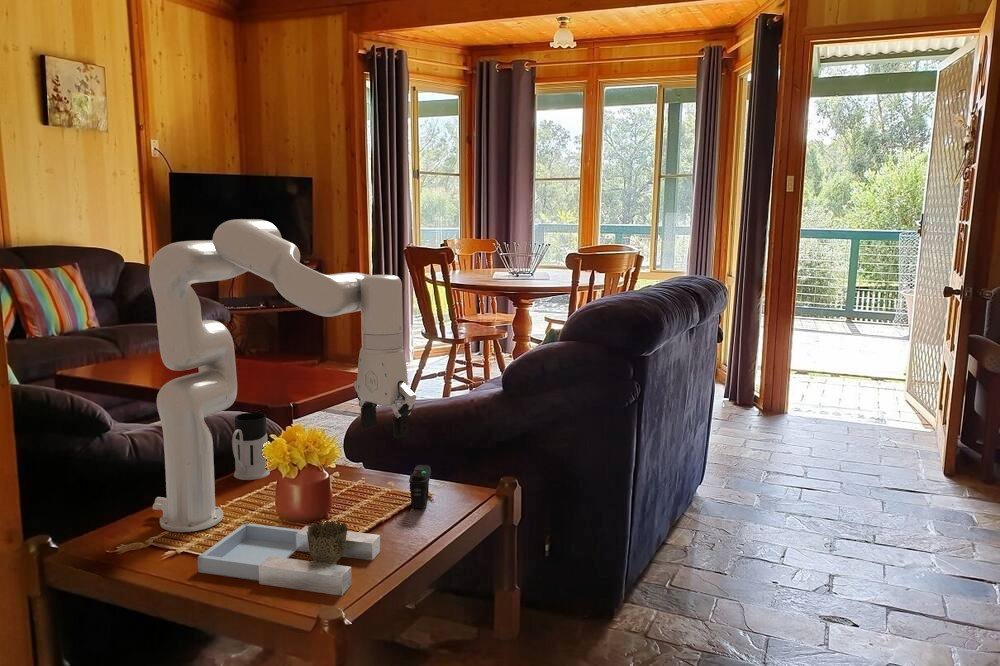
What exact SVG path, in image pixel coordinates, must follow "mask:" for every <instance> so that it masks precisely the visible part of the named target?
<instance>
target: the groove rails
mask: <svg viewBox="0 0 1000 666" xmlns="http://www.w3.org/2000/svg"><path fill="white" fill-rule="evenodd" d="M308 527H311V525H310V526H309V525H305V526H304V527H302V528H301V529H299V530H300V531H299V532H298V533H297V534H296V551H297V552H306V553H310V550H309V544H308V537H307V531H308ZM296 551H295V552H296ZM379 553H381V534H374V533H368V532H367V533H365V532H357V531H350V530H347V535H346V544H345V550H344V553H343V555H342V557H341V558H350V559H359V560H365V561H373V560H375V558H376V557H377V556H378V555H379ZM258 584H259V585H262V586H263V585H265V586H270V587H277V588H284V589H285V588H286V589H292V590H299V591H305V592H307V591H308V592H312V593H313V592H314V593H320V594H327V595H335V596H339V597H340V596H341V597H342V596H344V594H345V593H346V592H347V590H348V589H349V588H350V587H351V586H352V566H348V565H341V564H337V565H334V564H326V563H319V562H316V561H309V560H305V559H304V560H302V559H297V558H296V559H294V558H290V557H289V558H281V557H274V556H270V557H268V558H267V559H266V560H265V561H264V562H263V563H261V564H260V565H259V581H258Z"/></svg>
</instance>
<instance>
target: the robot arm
mask: <svg viewBox="0 0 1000 666" xmlns="http://www.w3.org/2000/svg"><path fill="white" fill-rule="evenodd" d="M300 261H301V252H300V250H299V248H298V247H297V245H296V244H294V243H293V242H290V241H289V240H286V239H284V238H282V235H281V232H280V230H279V229H278V228H277V226H275V225H274V224H273V223H272V222H270V221H267V220H264V219H259V218H258V219H257V218H256V219H255V218H253V219H252V218H251V219H250V218H249V219H246V218H244V219H243V218H240V219H239V218H238V219H230V220H227V221H224V222H222V223H221V224H219V225H218V226H217V228H215V230H214V233H213V236H212V239H211V240H209V239H208V240H205V239H204V240H198V239H197V240H184V241H176V242H172V243H169V244H167V245H164V246H163V247H161V248H160V249H159V250H157V252H156V253H155V254H154V255H153V257H152V259H151V261H150V262H151V263H150V265H149V271H148V274H149V282H150V283H149V284H150V288H151V291H152V295H153V298H154V303H155V312H156V313H155V314H156V326H157V334H158V335H157V336H158V346H159V353H160V358H161V361H162V363H163V365H164V366H165V367H166V368H167V369H169V370H171V371H179V372H180V371H181V372H182V371H187V370H192V369H196V368H198V372H195V373H191V374H190V373H189V374H186V375H183V376H180V377H176V378H174V379H171V380H169V381H167V382H165V384H163V386H161V388H160V389H159V391H158V393H157V395H156V396H157V397H156V407H157V412H158V415H159V420H160V423H161V429H162V435H163V450H164V469H165V483H166V484H165V488H166V489H165V491H166V497H161V496H157V497H155V499H154V503H153V505H152V510H155V511H156V510H157V511H162V515H161V517H160V518H159V525H160V527H161V528H162V529H164V530H165V531H168V532H174V533H190V532H191V533H192V532H197V531H202V530H206V529H210V528H211V527H215V526H216V525H218V524H219V523H220V522H221V521H222V520H223V519H224V510H223V509H222V508H220V507H219V506H216V496H215V495H216V493H215V492H216V491H215V489H216V488H215V464H214V461H215V460H214V441H213V435H212V433H211V431H210V428H209V427H208V425H207V424H206V422H205V418H206V417H207V418H208V417H209V416H211V415H214V414H217V413H220V412H223V411H225V410H227V409H229V408H230V407H231V406H233V404H234V403H235V401H236V398H237V395H238V380H237V379H238V378H237V377H238V375H237V366H236V365H237V364H236V354H235V353H236V352H235V351H236V350H235V343H234V340H233V336H232V335H231V332H230V330H229V329H228V328H227V327H226V326H225V324H223V323H222V322H220V321H218V320H213V319H206V320H203V319H202V307H201V302H200V299H199V297H198V295H197V293H196V291H195V290H194V288H193V287H192V286H191V285H192V284H197V283H198V284H200V283H209V282H217V281H226V280H229V279H233V278H237V277H239V276H240V275H243V274H245V273H247V272H250V273H252V274H254V275H256V276H259V277H260V278H262V279H265V281H268V282H270V283H272V284H273V286H274V288H275V289H276V290H277V291H278V293H279V294H280V295H281V296H282V298H284V299H285V300H286V301H288V302H289V303H291V304H293V305H294V306H297V307H299V308H301V309H303V310H305V311H307V312H309V313H312V314H314V315H317V316H321V317H329V318H330V317H336V316H340V315H344V314H350V313H355V312H360V314H361V318H360V319H361V321H360V322H361V345H362V346H361V347H360V351H359V356H358V362H357V379H356V380H355V381H354V382H353V386H354V387H353V388H354V389H355V392H356V393H355V396H356V398H357V400H358V406H359V407H360V424H361V425H360V426H361V428H362V429H366V428H367V429H368V428H370V427H371V428H372V427H375V426H377V405H378V406H382V407H389V406H390V408H391V410H392V411H393V414H394V415H395V416H393V417H392V431H393V434H392V435H393V438H394V439H399V438H403V437H407V436H408V435H409V434H410V433H409V430H410V428H409V424H410V421H409V419H410V417H409V416H410V415H411V414H412V413H411V412H412V410H413V409H414V407H415V403H416V399H417V395H416V393H414V392H413V390H412V389H411V388H409V382H408V381H409V379H408V369H407V361H406V354H405V350H404V326H403V325H404V321H403V319H404V317H403V315H404V313H403V312H404V311H403V282H402V280H401V279H400V277H399V276H397V275H392V274H366V273H362V272H351V271H350V272H349V271H348V272H339V273H332V274H331V273H330V274H324V273H321V272H319V271H317V270H314V269H313V268H311V267H308V266H306V265H305V264H302V263H301V262H300ZM399 405H400V408H399Z"/></svg>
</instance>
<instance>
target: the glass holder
mask: <svg viewBox="0 0 1000 666" xmlns="http://www.w3.org/2000/svg"><path fill="white" fill-rule="evenodd" d="M231 439H232V440H231V443H232V445H231V446H232V452H233V457H234V459H235V461H234V466H235V471H234V473H233V477H234V478H235V479H238V480H241V481H243V480H244V481H245V480H247V481H251V480H252V481H253V480H259V479H264V478H266V477H267V476H269V475H270V474H271V471H270V469H269V470H266V469H265V466H266V462H267V461H266V459H265V458H263V456H262V454H261V453H262V448H263V444H264V443H266V442H267V443H268V432H267V415H266V414H265V413H261V412H246V413H245V412H243V413H239V414H237V415H235V416H234V432H233V434H232V438H231Z"/></svg>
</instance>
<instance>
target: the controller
mask: <svg viewBox="0 0 1000 666" xmlns="http://www.w3.org/2000/svg"><path fill="white" fill-rule="evenodd" d="M431 474H432V469H431V466H430V465H428V464H417V465H416V466H415V467H414V469H413V472H412V473H411V474H410V475H409V479H408V483H409V491H410V503H411V507H412V508H415V509H424V508H426V507H427V505H428V500H429V485H430V479H431Z"/></svg>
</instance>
